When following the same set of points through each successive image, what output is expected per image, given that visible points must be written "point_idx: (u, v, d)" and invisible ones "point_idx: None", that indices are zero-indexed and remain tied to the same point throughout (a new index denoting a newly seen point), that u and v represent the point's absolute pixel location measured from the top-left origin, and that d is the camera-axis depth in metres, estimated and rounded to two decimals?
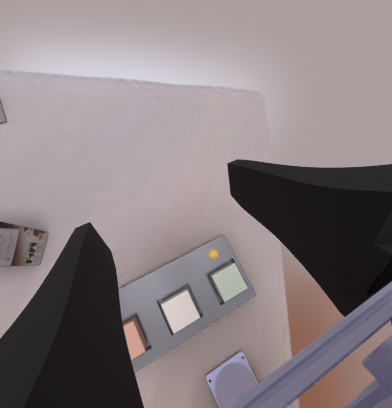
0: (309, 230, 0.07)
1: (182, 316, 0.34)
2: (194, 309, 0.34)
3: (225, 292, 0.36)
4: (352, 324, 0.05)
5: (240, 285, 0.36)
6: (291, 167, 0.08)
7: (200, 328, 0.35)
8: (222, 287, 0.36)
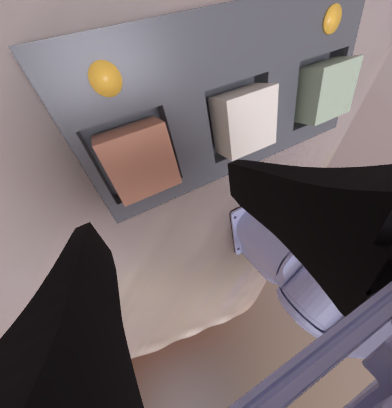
0: (309, 230, 0.07)
1: (253, 135, 0.17)
2: (274, 126, 0.18)
3: (323, 110, 0.20)
4: (352, 325, 0.05)
5: (345, 103, 0.20)
6: (291, 167, 0.08)
7: (256, 159, 0.22)
8: (324, 99, 0.19)
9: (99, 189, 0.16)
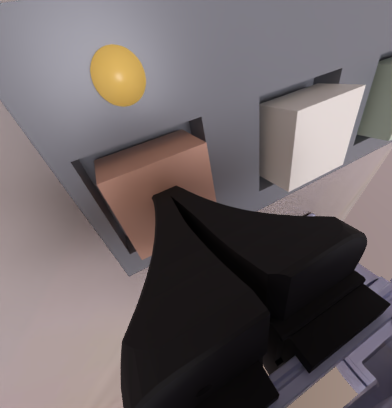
0: None
1: (320, 156, 0.12)
2: (346, 144, 0.13)
3: None
4: None
5: None
6: (213, 204, 0.07)
7: None
8: None
9: (105, 237, 0.11)
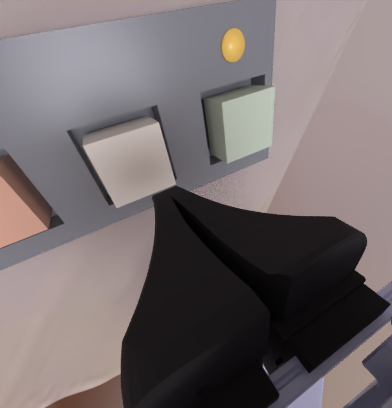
0: None
1: (139, 179, 0.15)
2: (167, 168, 0.15)
3: (234, 146, 0.17)
4: None
5: (263, 138, 0.18)
6: (213, 204, 0.07)
7: None
8: (233, 135, 0.16)
9: None
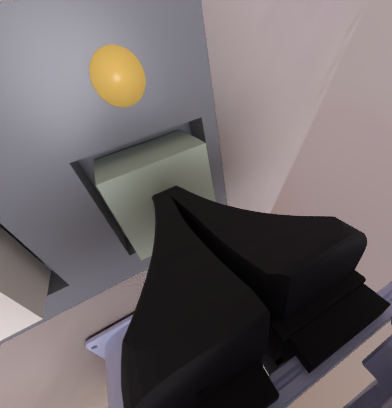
0: None
1: None
2: (9, 307, 0.08)
3: (148, 237, 0.10)
4: None
5: None
6: (213, 204, 0.07)
7: (59, 309, 0.12)
8: (139, 225, 0.10)
9: None
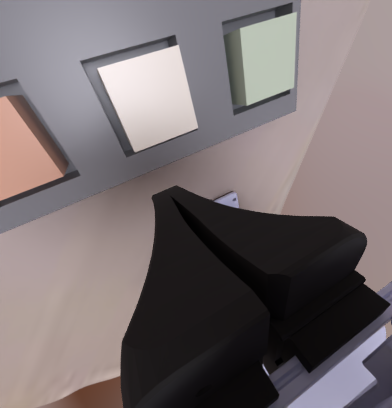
0: None
1: (158, 117, 0.13)
2: (189, 106, 0.14)
3: (254, 85, 0.16)
4: None
5: (285, 77, 0.17)
6: (213, 204, 0.07)
7: (187, 152, 0.17)
8: (252, 71, 0.15)
9: None
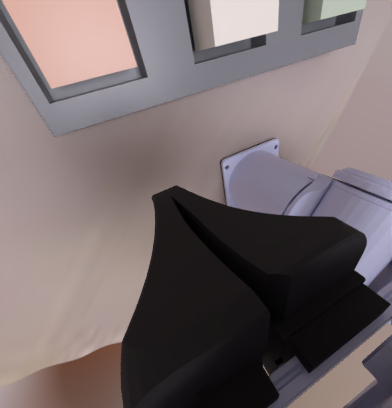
0: None
1: (245, 5, 0.12)
2: None
3: None
4: None
5: None
6: (213, 204, 0.07)
7: (251, 71, 0.16)
8: None
9: (15, 68, 0.11)
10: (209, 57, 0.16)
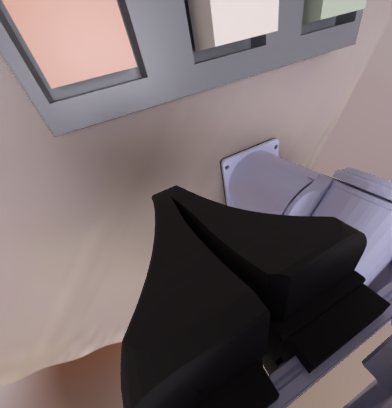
0: None
1: (245, 5, 0.12)
2: None
3: None
4: None
5: None
6: (213, 204, 0.07)
7: (251, 71, 0.16)
8: None
9: (15, 68, 0.11)
10: (209, 57, 0.16)
